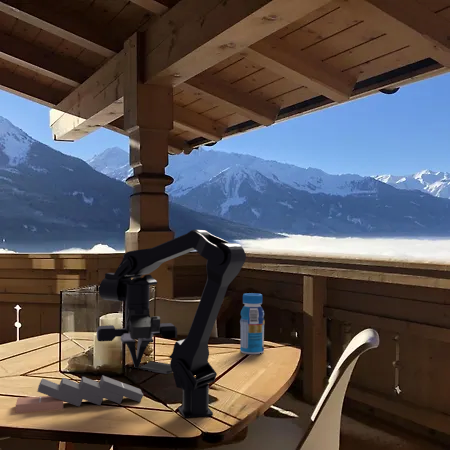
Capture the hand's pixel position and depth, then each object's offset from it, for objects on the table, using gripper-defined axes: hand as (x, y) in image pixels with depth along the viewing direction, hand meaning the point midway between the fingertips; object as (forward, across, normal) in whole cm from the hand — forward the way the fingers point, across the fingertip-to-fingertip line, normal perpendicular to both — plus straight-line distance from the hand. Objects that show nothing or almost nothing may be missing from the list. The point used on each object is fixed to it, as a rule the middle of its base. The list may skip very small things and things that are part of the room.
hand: (136, 367), depth 124 cm
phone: (+8, +10, +29) cm, 32 cm away
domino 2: (+7, -13, 0) cm, 14 cm away
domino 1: (+7, -17, 0) cm, 18 cm away
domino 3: (+7, -8, 0) cm, 11 cm away
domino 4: (+7, -4, 0) cm, 8 cm away
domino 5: (+7, +1, 0) cm, 7 cm away
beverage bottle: (+8, +46, +42) cm, 62 cm away
